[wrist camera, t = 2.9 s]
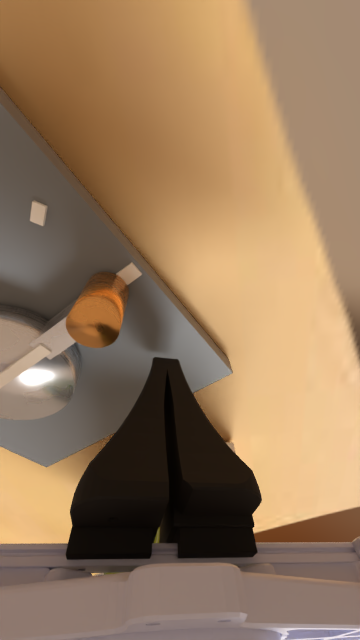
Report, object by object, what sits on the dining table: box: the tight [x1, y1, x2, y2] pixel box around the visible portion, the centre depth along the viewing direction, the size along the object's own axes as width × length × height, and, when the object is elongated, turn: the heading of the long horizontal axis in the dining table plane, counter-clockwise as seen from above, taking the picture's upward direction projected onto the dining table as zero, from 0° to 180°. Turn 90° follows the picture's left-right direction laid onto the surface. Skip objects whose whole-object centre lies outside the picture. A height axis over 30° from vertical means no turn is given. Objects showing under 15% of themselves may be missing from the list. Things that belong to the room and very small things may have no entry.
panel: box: [0, 87, 233, 467], centre depth 15 cm, size 18×18×1 cm
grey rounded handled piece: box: [0, 272, 129, 420], centre depth 12 cm, size 12×7×3 cm, turn 125°
